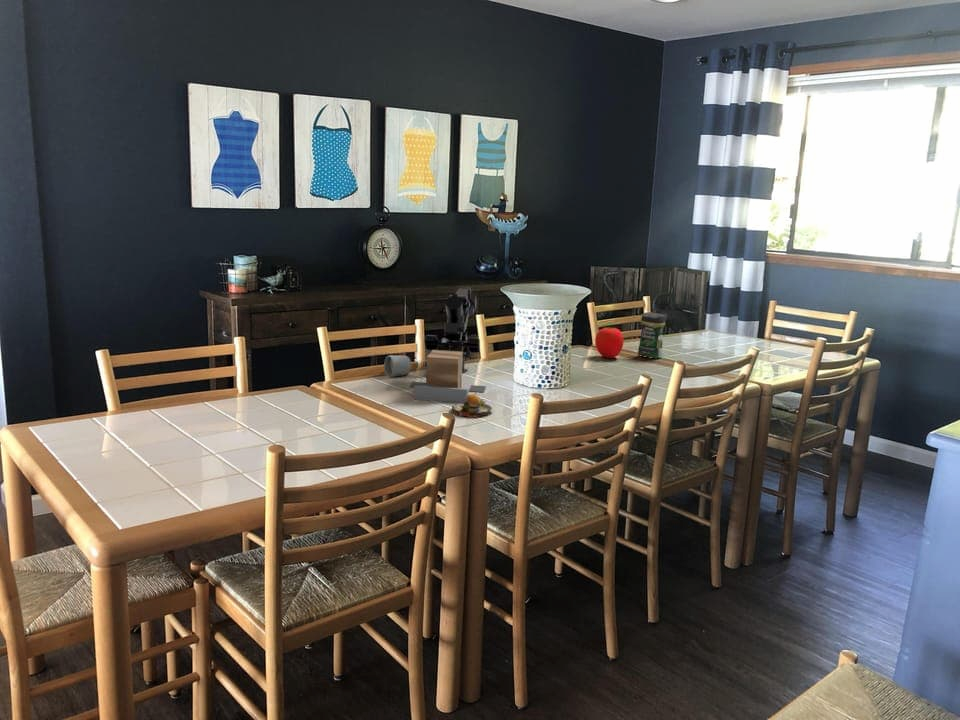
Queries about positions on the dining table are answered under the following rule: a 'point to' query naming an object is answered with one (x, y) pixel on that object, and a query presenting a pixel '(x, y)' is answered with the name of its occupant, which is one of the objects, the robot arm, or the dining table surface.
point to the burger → (472, 407)
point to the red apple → (609, 342)
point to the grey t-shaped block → (440, 393)
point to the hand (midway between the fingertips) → (449, 364)
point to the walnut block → (444, 369)
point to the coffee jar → (651, 335)
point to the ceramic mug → (397, 365)
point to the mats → (472, 389)
